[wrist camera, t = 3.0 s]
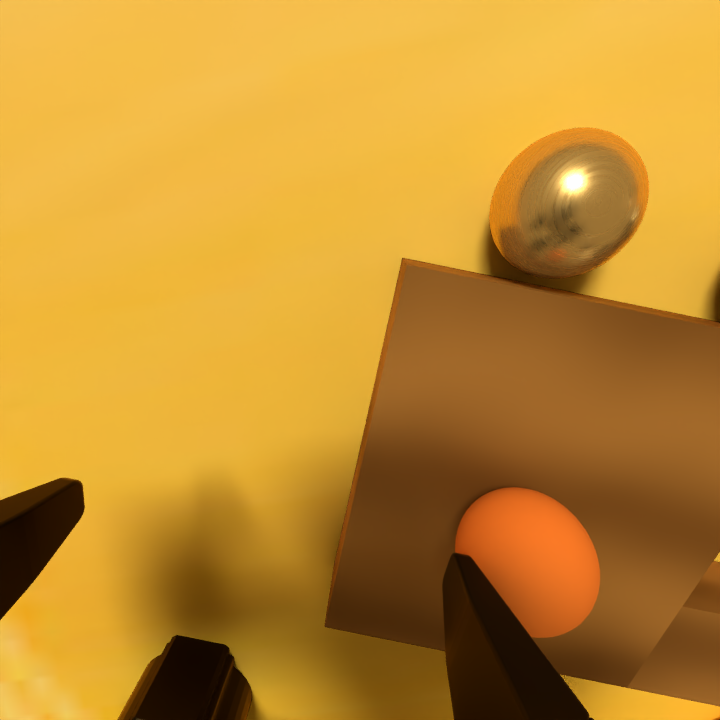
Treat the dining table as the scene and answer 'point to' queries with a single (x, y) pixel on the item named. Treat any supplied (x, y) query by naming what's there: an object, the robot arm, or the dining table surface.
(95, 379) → the dining table surface
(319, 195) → the dining table surface
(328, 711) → the dining table surface
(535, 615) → the ball
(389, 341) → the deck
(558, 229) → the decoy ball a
